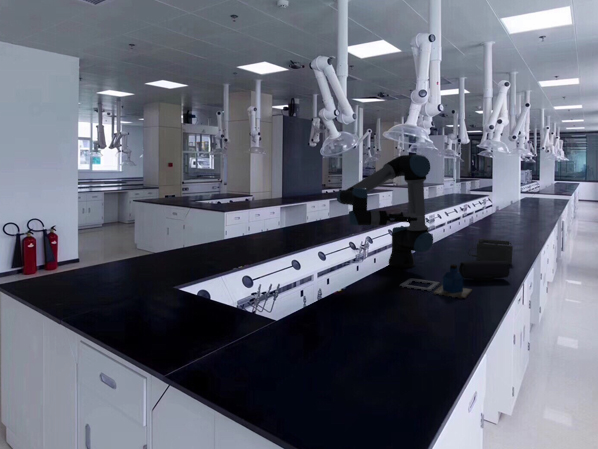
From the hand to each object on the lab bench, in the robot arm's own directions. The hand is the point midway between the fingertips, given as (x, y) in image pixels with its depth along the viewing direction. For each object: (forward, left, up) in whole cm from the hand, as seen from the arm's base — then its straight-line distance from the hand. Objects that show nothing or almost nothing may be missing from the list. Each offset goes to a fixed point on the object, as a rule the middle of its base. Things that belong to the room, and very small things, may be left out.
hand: (419, 217), depth 228 cm
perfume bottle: (+23, -19, -31) cm, 43 cm away
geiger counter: (+24, +59, -32) cm, 72 cm away
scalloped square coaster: (+6, -15, -32) cm, 36 cm away
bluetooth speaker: (+30, +13, -32) cm, 46 cm away
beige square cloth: (+23, -19, -32) cm, 44 cm away
